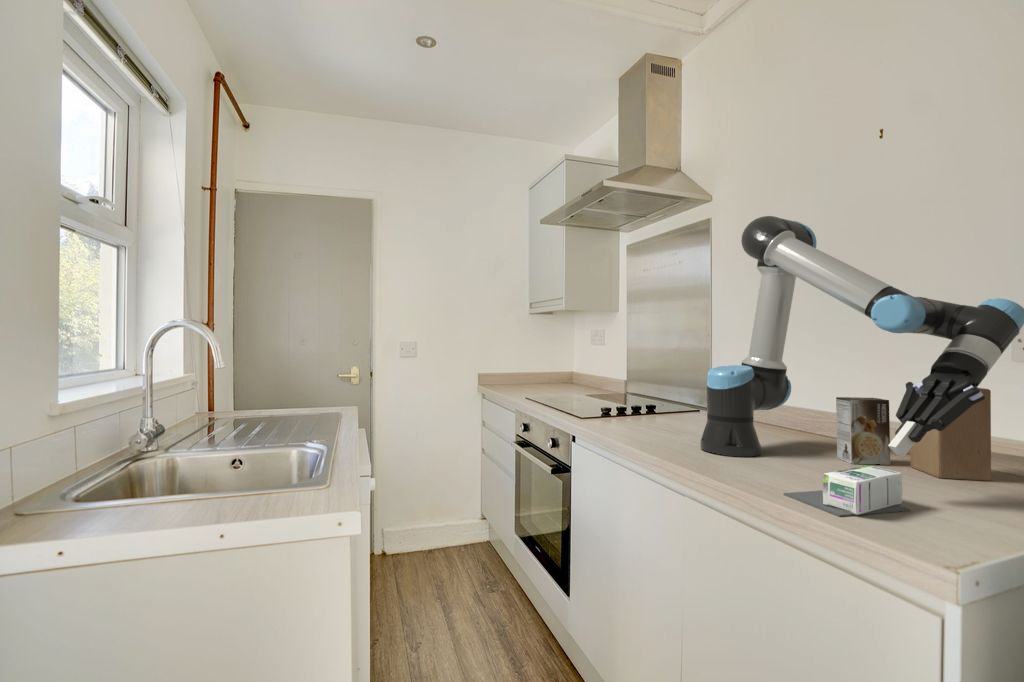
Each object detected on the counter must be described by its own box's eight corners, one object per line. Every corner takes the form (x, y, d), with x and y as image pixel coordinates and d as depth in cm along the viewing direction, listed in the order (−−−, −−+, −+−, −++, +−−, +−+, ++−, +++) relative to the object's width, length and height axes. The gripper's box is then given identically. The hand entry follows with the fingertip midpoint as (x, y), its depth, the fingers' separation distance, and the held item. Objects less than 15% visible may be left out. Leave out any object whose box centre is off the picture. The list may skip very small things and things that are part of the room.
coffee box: (873, 459, 120) (873, 397, 120) (891, 465, 113) (891, 400, 113) (835, 458, 121) (835, 396, 121) (851, 464, 114) (850, 399, 114)
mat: (846, 490, 93) (846, 488, 93) (909, 510, 81) (909, 509, 81) (783, 494, 90) (783, 493, 90) (839, 516, 78) (839, 515, 78)
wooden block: (992, 481, 100) (991, 389, 100) (938, 478, 102) (938, 388, 102) (958, 469, 110) (957, 385, 110) (909, 467, 112) (909, 384, 112)
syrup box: (903, 472, 84) (857, 480, 78) (903, 504, 84) (856, 515, 78) (868, 464, 90) (822, 471, 83) (867, 495, 89) (821, 504, 83)
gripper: (1016, 378, 86) (945, 473, 82) (938, 374, 99) (874, 456, 95) (993, 350, 85) (921, 445, 81) (918, 349, 98) (852, 431, 94)
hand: (896, 451), depth 88 cm, fingers closed
